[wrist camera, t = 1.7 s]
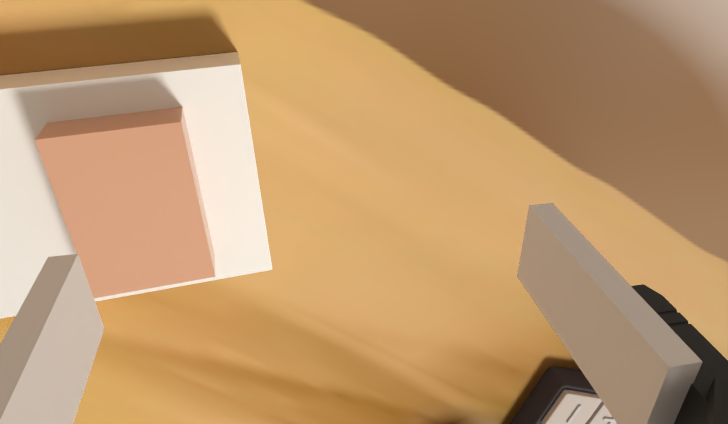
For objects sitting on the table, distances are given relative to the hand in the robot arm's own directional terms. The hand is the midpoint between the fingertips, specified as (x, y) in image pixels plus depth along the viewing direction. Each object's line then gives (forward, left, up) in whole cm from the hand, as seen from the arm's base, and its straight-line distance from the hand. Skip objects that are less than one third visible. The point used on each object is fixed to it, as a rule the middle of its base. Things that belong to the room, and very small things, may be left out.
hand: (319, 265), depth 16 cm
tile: (-5, +8, -18) cm, 20 cm away
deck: (-5, +11, -21) cm, 24 cm away
